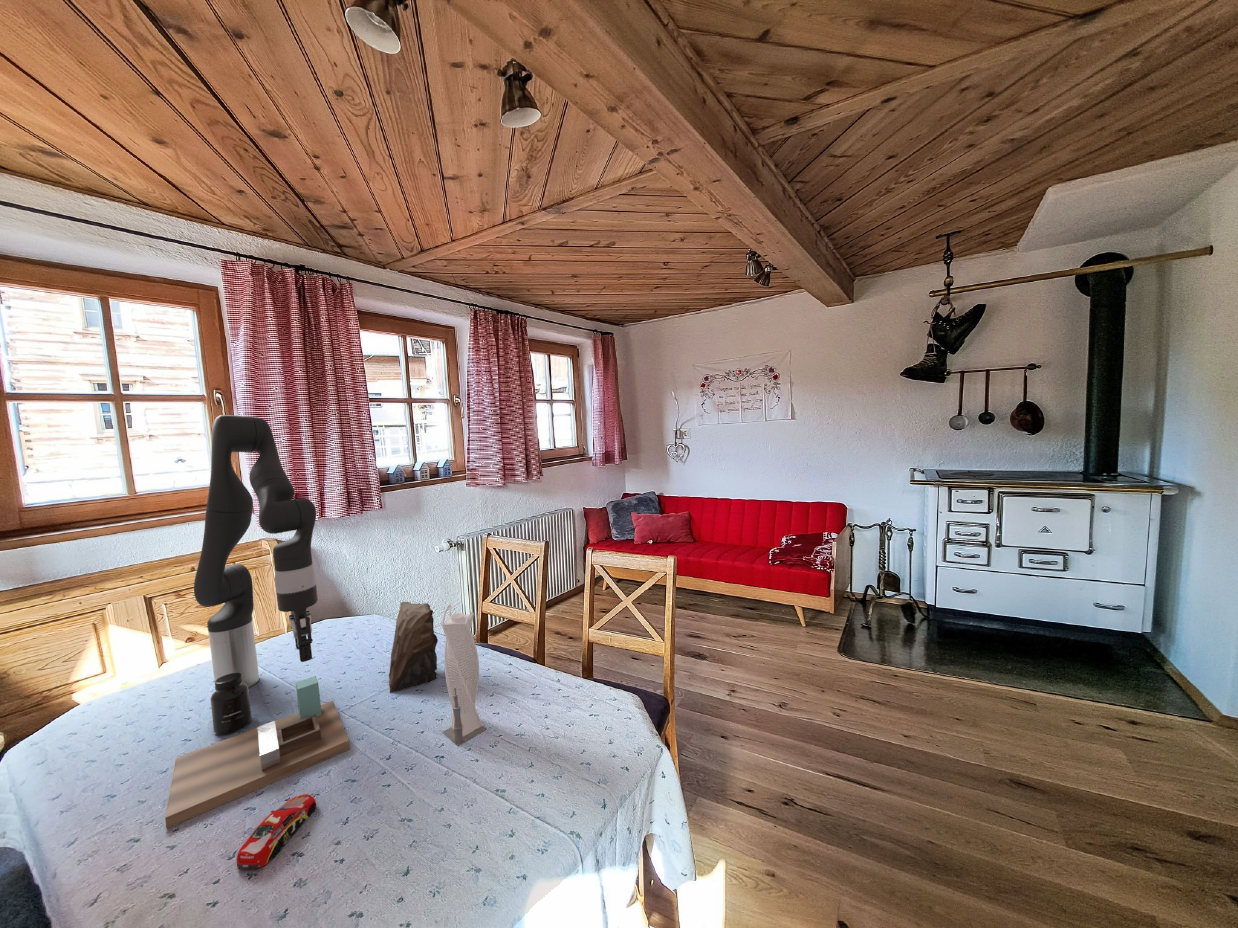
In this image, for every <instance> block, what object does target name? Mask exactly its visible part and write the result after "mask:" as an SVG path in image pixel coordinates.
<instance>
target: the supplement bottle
mask: <svg viewBox="0 0 1238 928" xmlns="http://www.w3.org/2000/svg"><path fill="white" fill-rule="evenodd" d="M242 681H243V680H242V675H241V673H231V674H227V675H224V676H222V677H220V678H218V679H217V680H216V681H214V690H215V691H214V692H213V693H212V695H211V696H210V709H211V718H212V728H213V733H214V734H215V735H217V736H225V735H230V734H234V733H236V732H238V731H240V730H242V729H244V728H245V727H247V726H248V725H249V723H250V722H251V721H252V711H251V701H250V699H251V698H250V690H249V687H248V686H247V685H246V684H245V683H242Z"/></svg>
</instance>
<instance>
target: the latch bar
mask: <svg viewBox="0 0 1238 928" xmlns="http://www.w3.org/2000/svg"><path fill="white" fill-rule="evenodd" d="M275 721H276V720H273V721H269V722H268V723H265V724H261V725H258V726H257V727H256V728H258V739H259V750H260V760H261V768H262V770H263V769H266V768H268V767H271V766H273V765H276V764H278V763H280V762H281V761H280V753H279V745H278V738H277V732H276V725H275Z"/></svg>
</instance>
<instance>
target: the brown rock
mask: <svg viewBox="0 0 1238 928" xmlns="http://www.w3.org/2000/svg"><path fill="white" fill-rule="evenodd" d="M433 614H434V610H433V609H431V606H430V604H429V603H426V602H424V603H420V602H419V603H411V602H409V601H401V602H400V604H399V610H398V614H397V617H396V621H395V623H396V624H395V630H394V637H393V644H392V648H391V654H390V664H389V666H390V667H389V673H388V679H389V681H388V685H389V693H390V694H392V693H395V692H399V691H402V690H406V689H409V688H413V687H418V686H420V685H423V684H424V685H425V684H430V683H432V682H434V681H436V680H437V679H438V675H437V672H436V671H437V669H438V656H437V652H436V647H437V644H438V642H439V639H438V637H437V635H436V634H435V630H434V616H433Z"/></svg>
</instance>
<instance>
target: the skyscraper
mask: <svg viewBox="0 0 1238 928" xmlns="http://www.w3.org/2000/svg"><path fill="white" fill-rule="evenodd" d="M448 611H449V612H448ZM447 612H448V618H447V619H446V614H447ZM474 616H475V613H474V611H471V612H470V613H469V614H464V613H462V612H456V613H454V614H452V605H451V604H449V605H448V606H447V607H446V609H444V612H443V615H442V619H441V626H442V627H441V628H442V630H443V634H444V636H445V642H444V653H443V654H444V655H443V657H444V659H443V660H444V662H443V663H444V674H445V681H446V689H447V693H448V696H449V702H450V706H451V709H452V714H451V715H452V716H451V721H450V727H449V728H447V729H445V730H443V731H442V733H443V735H444V736H446V737H447V738H448V739H449V740H450V741H452V743H453V744H454V745H455V746H457V747H460V746H461V745H463V744H465V743H467V741H470V740H471V739H473V738H475V737H476V736H479V735H480V734H482V733H483V732H485V731H487V730H488V728H487V727H485V726H484V724H483V722H482V720H481V718H480V715H479V712H478V709H476V701H477V697H478V691H479V690H478V689H479V681H480V662H479V654H478V653H479V652H478V648H477V646H476V641H475V639H474V636H473V633H472V631H471V630H472V624H473V620H474ZM445 619H446V620H445Z"/></svg>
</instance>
